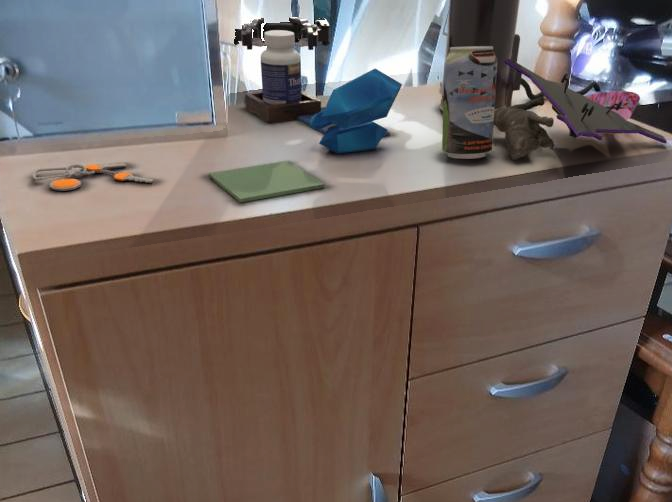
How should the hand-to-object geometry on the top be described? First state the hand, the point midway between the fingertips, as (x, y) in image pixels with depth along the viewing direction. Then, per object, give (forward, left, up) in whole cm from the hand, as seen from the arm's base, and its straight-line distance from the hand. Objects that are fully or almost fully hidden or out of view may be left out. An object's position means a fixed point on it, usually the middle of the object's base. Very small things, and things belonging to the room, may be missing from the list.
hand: (280, 41), depth 102 cm
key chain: (+32, +19, -8) cm, 39 cm away
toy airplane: (-23, +37, -1) cm, 44 cm away
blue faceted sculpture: (+1, +23, -8) cm, 24 cm away
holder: (+2, +4, -8) cm, 9 cm away
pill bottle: (+2, +4, -8) cm, 9 cm away
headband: (-33, +31, -7) cm, 46 cm away
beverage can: (-10, +31, -8) cm, 34 cm away
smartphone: (-2, +12, -9) cm, 15 cm away
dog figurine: (-20, +34, -5) cm, 40 cm away
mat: (+16, +29, -8) cm, 34 cm away
